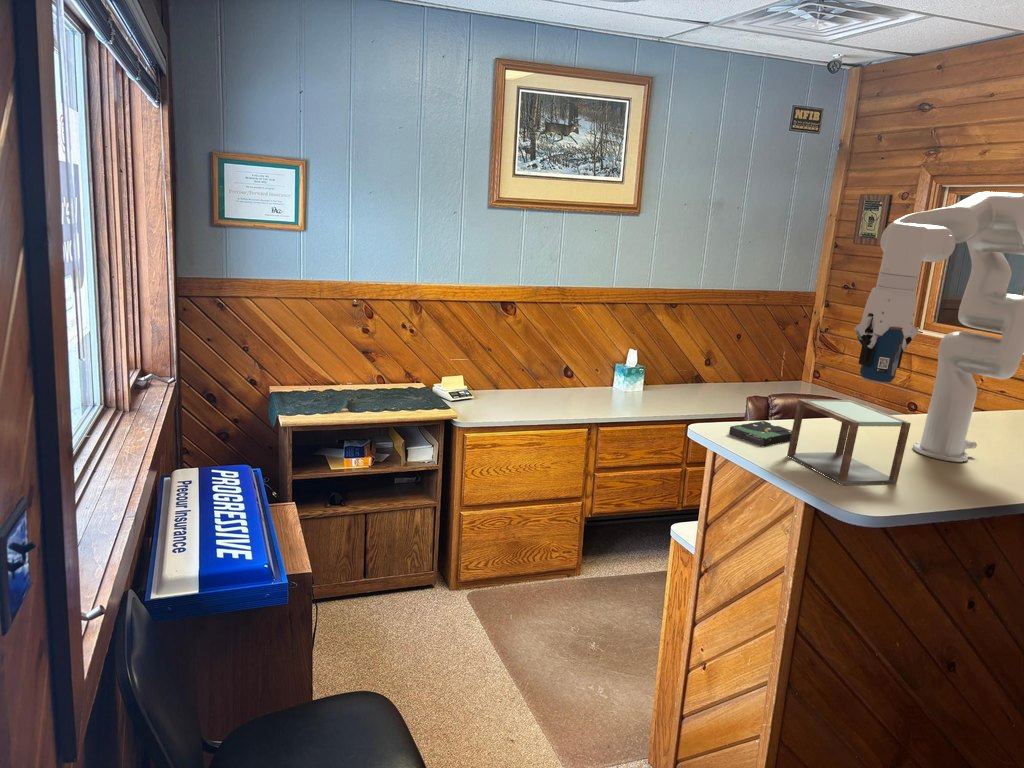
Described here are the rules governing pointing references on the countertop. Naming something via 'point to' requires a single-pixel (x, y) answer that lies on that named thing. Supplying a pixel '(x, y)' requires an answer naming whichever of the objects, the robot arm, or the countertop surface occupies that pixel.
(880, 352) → the soda can
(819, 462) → the frame
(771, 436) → the disk drive
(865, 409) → the trapdoor
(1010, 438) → the countertop surface
